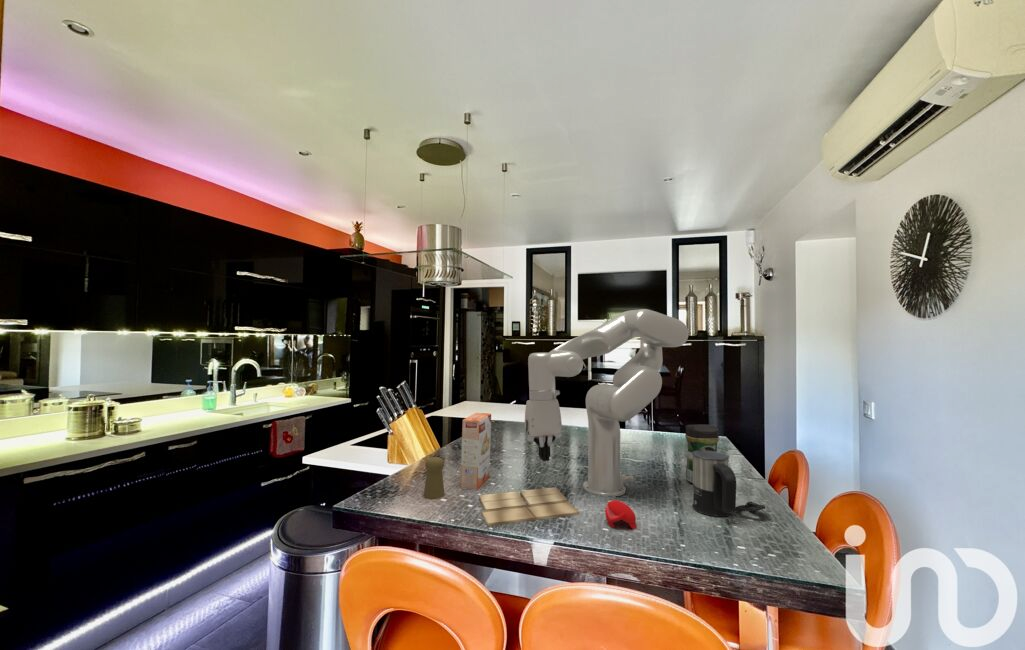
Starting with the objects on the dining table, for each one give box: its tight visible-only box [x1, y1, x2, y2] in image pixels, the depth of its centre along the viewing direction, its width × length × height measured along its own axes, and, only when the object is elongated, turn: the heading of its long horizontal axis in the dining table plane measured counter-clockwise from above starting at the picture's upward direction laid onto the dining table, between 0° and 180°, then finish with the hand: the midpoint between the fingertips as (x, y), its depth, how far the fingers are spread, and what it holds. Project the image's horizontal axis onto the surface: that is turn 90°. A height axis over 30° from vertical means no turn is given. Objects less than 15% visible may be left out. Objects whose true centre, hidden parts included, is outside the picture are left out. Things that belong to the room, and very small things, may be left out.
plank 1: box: [478, 491, 527, 511], centre depth 109 cm, size 11×8×1 cm
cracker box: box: [459, 412, 492, 491], centre depth 126 cm, size 14×6×21 cm, turn 168°
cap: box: [604, 499, 637, 530], centre depth 97 cm, size 8×6×6 cm
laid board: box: [480, 500, 580, 527], centre depth 102 cm, size 24×7×1 cm, turn 108°
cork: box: [423, 456, 445, 500], centre depth 114 cm, size 6×6×11 cm
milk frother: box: [692, 450, 766, 517], centre depth 107 cm, size 14×16×15 cm
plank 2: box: [519, 486, 569, 506], centre depth 112 cm, size 11×8×1 cm
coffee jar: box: [684, 423, 720, 485], centre depth 129 cm, size 10×8×19 cm
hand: (544, 459), depth 115 cm, fingers closed
